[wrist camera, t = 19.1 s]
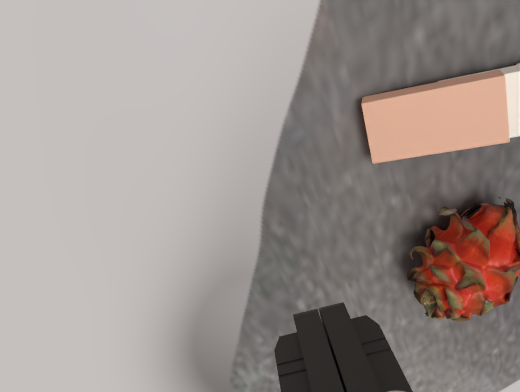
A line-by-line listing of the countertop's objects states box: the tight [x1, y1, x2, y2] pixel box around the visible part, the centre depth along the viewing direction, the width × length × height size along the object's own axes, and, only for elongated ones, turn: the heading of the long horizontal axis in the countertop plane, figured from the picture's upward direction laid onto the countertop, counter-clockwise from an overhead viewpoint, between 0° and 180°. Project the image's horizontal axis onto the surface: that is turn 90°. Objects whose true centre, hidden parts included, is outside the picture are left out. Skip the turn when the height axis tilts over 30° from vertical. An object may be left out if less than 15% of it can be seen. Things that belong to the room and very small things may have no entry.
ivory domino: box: [438, 65, 520, 138], centre depth 38 cm, size 2×5×10 cm
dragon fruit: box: [407, 198, 520, 321], centre depth 42 cm, size 8×8×12 cm
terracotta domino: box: [361, 70, 510, 163], centre depth 38 cm, size 2×5×10 cm
